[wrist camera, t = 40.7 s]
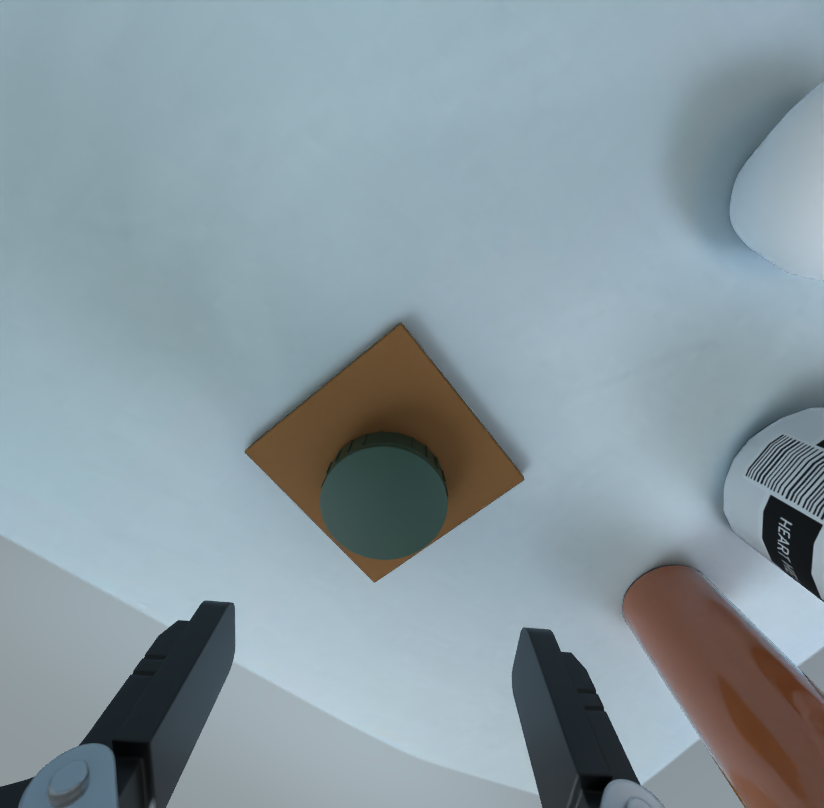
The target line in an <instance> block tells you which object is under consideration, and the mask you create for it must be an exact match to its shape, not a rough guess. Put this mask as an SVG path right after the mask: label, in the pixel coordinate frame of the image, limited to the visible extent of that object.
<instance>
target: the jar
mask: <svg viewBox="0 0 824 808" xmlns="http://www.w3.org/2000/svg"><path fill="white" fill-rule="evenodd" d="M622 612H623V617H624V620H625V622H626V624H627V625H628V627H629V628H630V630H631V631H632V633H633V635H634V636H635V638H636V639H637V641H638V642H639V644H640V645H641V647H642V649H643V650H644V652H645V653H646V655H647V656H648V658H649V660H650V661H651V663H652V664H653V666H654V667H655V669H656V670H657V672H658V674H659V675H660V677H661V678H662V680H663V681H664V683H665V684H666V686H667V688H668V689H669V691H670V692H671V694H672V695H673V697H674V698H675V700H676V702H677V703H678V705H679V706H680V708H681V709H682V711H683V712H684V714H685V716H686V717H687V719H688V720H689V722H690V723H691V725H692V726H693V728H694V730H695V731H696V733H697V734H698V736H699V737H700V739H701V740H702V742H703V744H704V745H705V747H706V748H707V750H708V751H709V753H710V754H711V756H712V758H713V759H714V761H715V762H716V764H717V765H718V767H719V768H720V770H721V771H722V773H723V775H724V776H725V778H726V779H727V781H728V782H729V784H730V786H731V787H732V788H733V790H734V792H735V793H736V795H737V796H738V798H739V800H740V801H741V803H742V804H743V806H744V807H745V808H824V693H823V692H822V691H821V690H820V689H819V688H818V687H817V686H816V685H815V684H814V683H813V682H812V681H811V680H810V679H809V678H808V677H807V676H806V675H805V674H804V673H803V672H802V671H801V670H800V669H799V668H798V667H797V666H796V665H795V664H794V663H793V662H792V661H791V660H790V659H789V658H788V657H787V656H786V655H785V654H784V653H783V652H782V651H781V650H780V649H779V648H778V647H777V646H776V645H775V644H774V643H773V642H772V641H770V640H769V639H768V638H767V637H766V636H765V635H764V634H763V633H762V632H761V631H760V630H759V629H758V628H757V627H756V626H755V625H754V624H753V623H752V622H751V621H750V620H749V619H748V618H747V617H746V616H745V615H744V614H743V613H742V612H741V611H740V610H739V609H738V608H737V607H736V606H735V605H734V604H733V603H732V602H731V601H730V600H729V599H728V598H727V597H726V596H725V595H724V594H723V593H722V592H721V591H720V590H719V589H718V588H717V587H716V586H715V585H714V584H713V583H712V582H711V581H710V580H709V579H707V578H706V577H705V576H704V575H703V574H702V573H701V572H699V571H697V570H695V569H693V568H690V567H686V566H680V565H670V566H664V567H660V568H657V569H654V570H652V571H650V572H647V573H646V574H644V575H643V576H641V577H640V578H639V579H637V580H636V581H635V582H634V583H633V584H632V585H631V587H630V588H629V590H628V591H627V593H626V595H625V597H624V600H623V606H622Z"/></svg>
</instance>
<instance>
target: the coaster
mask: <svg viewBox="0 0 824 808" xmlns="http://www.w3.org/2000/svg"><path fill="white" fill-rule="evenodd" d="M381 431H383V432H394V433H397V432H399V434H403V435H406V436H409V437H411V438H412V437H414V438H415V440H417V441H419V442H420V443H422V444H423V445H424V446H426V445H427V446H428V449H429V450H430V451H431V452H432V453H433V455H434V456H435V457H437V458H438V462H439V464H440V466H441V469H442V470H444V474H445V479H446V486H447V491H448V497H449V498H447V500H448V508H447V514H446V518H445V521H444V524H443V526H442V528H441V530H440V531H439V533H438V534H437V536H436V537H435V538H434V539H433V540H432V541H431V542H430V543H429V544H428V545H427V546H429V545H430V544H432V543H433V542H435V541H436V540H438V539H439V538H440V537H442V536H443V535H445V534H446V533H448V532H449V531H451V530H452V529H454V528H455V527H456V526H458V525H459V524H461V523H462V522H464V521H465V520H467V519H468V518H470V517H471V516H472V515H474V514H475V513H477V512H478V511H480V510H481V509H483V508H484V507H486V506H487V505H488V504H490V503H491V502H493V501H494V500H496V499H497V498H499V497H500V496H502V495H503V494H504V493H506V492H507V491H509V490H510V489H512V488H513V487H515V486H516V485H518V484H519V483H520V482H522V481H523V480H524V477H523V475H522V474H521V472H520V471H519V470H518V469H517V467H516V466H515V465H514V464H513V462H512V461H511V460H510V459H509V457H508V456H507V455H506V454H505V452H504V451H503V450H502V449H501V447H500V446H499V445H498V444H497V442H496V441H495V440H494V439H493V437H492V436H491V435H490V433H489V432H488V431H487V430H486V428H485V427H484V426H483V425H482V423H481V422H480V421H479V420H478V418H477V417H476V416H475V415H474V413H473V412H472V411H471V410H470V408H469V407H468V406H467V405H466V403H465V402H464V401H463V400H462V398H461V397H460V396H459V394H458V393H457V392H456V391H455V389H454V388H453V387H452V386H451V384H450V383H449V382H448V381H447V379H446V378H445V377H444V376H443V374H442V373H441V372H440V371H439V369H438V368H437V367H436V366H435V364H434V363H433V362H432V361H431V359H430V358H429V357H428V355H427V354H426V353H425V352H424V350H423V349H422V348H421V347H420V345H419V344H418V343H417V342H416V340H415V339H414V338H413V337H412V335H411V334H410V333H409V332H408V330H407V329H406V328H405V327H404V325H403V324H402V323H400V324H399V325H397V326H396V327H395V328H394V329H393V330H391V331H390V332H389V333H388V334H386V335H385V336H384V337H383V338H382V339H380V340H379V341H378V342H377V343H375V344H374V345H373V346H372V347H371V348H369V349H368V350H367V351H366V352H364V353H363V354H362V355H361V356H360V357H358V358H357V359H356V360H355V361H353V362H352V363H351V364H350V365H349V366H347V367H346V368H345V369H344V370H342V371H341V372H340V373H339V374H338V375H336V376H335V377H334V378H333V379H331V380H330V381H329V382H328V383H327V384H325V385H324V386H323V387H322V388H320V389H319V390H318V391H317V392H316V393H314V394H313V395H312V396H311V397H309V398H308V399H307V400H306V401H305V402H303V403H302V404H301V405H300V406H298V407H297V408H296V409H295V410H293V411H292V412H291V413H290V414H289V415H287V416H286V417H285V418H284V419H282V420H281V421H280V422H279V423H278V424H276V425H275V426H274V427H273V428H271V429H270V430H269V431H268V432H267V433H265V434H264V435H263V436H262V437H260V438H259V439H258V440H257V441H256V442H254V443H253V444H252V445H251V446H249V447H248V448H247V449H246V450H245V453H246V454H247V455H248V456H249V457H250V458H251V459H252V460H253V461H254V462H255V463H256V464H257V465H258V466H259V467H260V468H261V469H262V470H263V471H264V472H265V473H266V474H267V475H268V476H269V477H270V478H271V479H272V480H273V481H274V482H275V483H276V484H277V485H278V486H279V487H280V488H281V489H282V490H283V491H284V492H285V493H286V494H287V495H288V496H289V497H290V498H291V499H292V500H293V501H294V502H295V503H296V504H297V505H298V506H299V507H300V508H301V509H302V510H303V511H304V512H305V513H306V514H307V515H308V516H309V517H310V518H311V520H312V521H313V522H314V523H315V524H316V525H317V526H318V527H319V528H320V529H321V530H322V531H323V532H324V533H325V534H326V535H327V536H328V537H329V538H330V539H331V540H332V541H333V542H334V543H335V544H336V545H337V546H338V547H339V548H340V549H341V550H342V551H343V552H344V553H345V554H346V555H347V556H348V557H349V558H350V559H351V560H352V561H353V562H354V563H355V564H356V565H357V566H358V567H359V568H360V569H361V570H362V571H363V572H364V573H365V574H366V575H367V576H368V577H369V578H370V579H371V580H372V581H373V582H376V581H378V580H379V579H381V578H382V577H384V576H385V575H387V574H388V573H390V572H391V571H392V570H394V569H395V568H397V567H398V566H400V565H401V564H403V563H404V562H406V561H407V560H408V559H410V558H411V557H413V556H414V555H416V554H417V553H419V552H420V551H422V550H423V549H424V548H426V547H427V546H426V547H424V548H423V549H421V550H420V551H418V552H416V553H414V554H412V555H409V556H406V557H403V558H398V559H391V560H378V559H371V558H367V557H363V556H360V555H357V554H355V553H353V552H351V551H349V550H348V549H346V548H345V547H343V546H342V545H341V544H340V543H338V542H337V541H336V540H335V538H334V537H333V536H332V535H331V534H330V532H329V531H328V529H327V527H326V525H325V524H324V521H323V518H322V515H321V510H320V493H321V486H322V484H323V481H324V479H325V477H326V471H327V469H328V467H329V465H330V462H331V461H332V462H333V460H334V459H335V457H336V456H337V453H338V451H339V450H342V449H343V448H344V447H345V446H346V445H347V444H349V443H350V440H355V439H357V438H359V437H361V436H364V435H365V434H366V433H367V434H371V433H376V432H381Z"/></svg>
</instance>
